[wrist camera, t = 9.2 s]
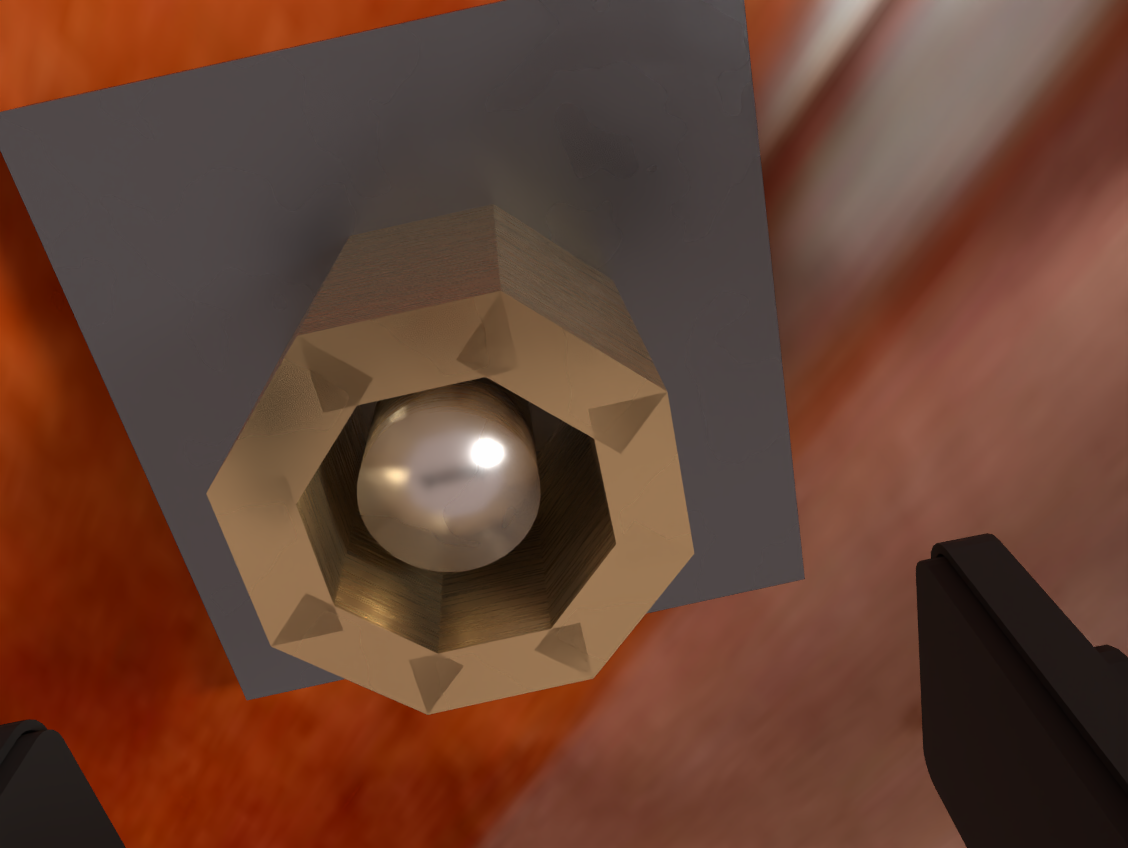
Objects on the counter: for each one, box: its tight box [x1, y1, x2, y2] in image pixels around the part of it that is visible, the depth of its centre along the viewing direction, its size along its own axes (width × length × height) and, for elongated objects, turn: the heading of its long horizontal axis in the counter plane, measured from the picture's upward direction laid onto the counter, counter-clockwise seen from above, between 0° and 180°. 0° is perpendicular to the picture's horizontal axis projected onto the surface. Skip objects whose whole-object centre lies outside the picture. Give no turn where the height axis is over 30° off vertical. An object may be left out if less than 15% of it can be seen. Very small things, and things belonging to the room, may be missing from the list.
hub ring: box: [206, 204, 694, 715], centre depth 17 cm, size 7×7×6 cm
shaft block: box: [0, 0, 805, 700], centre depth 18 cm, size 14×14×6 cm
